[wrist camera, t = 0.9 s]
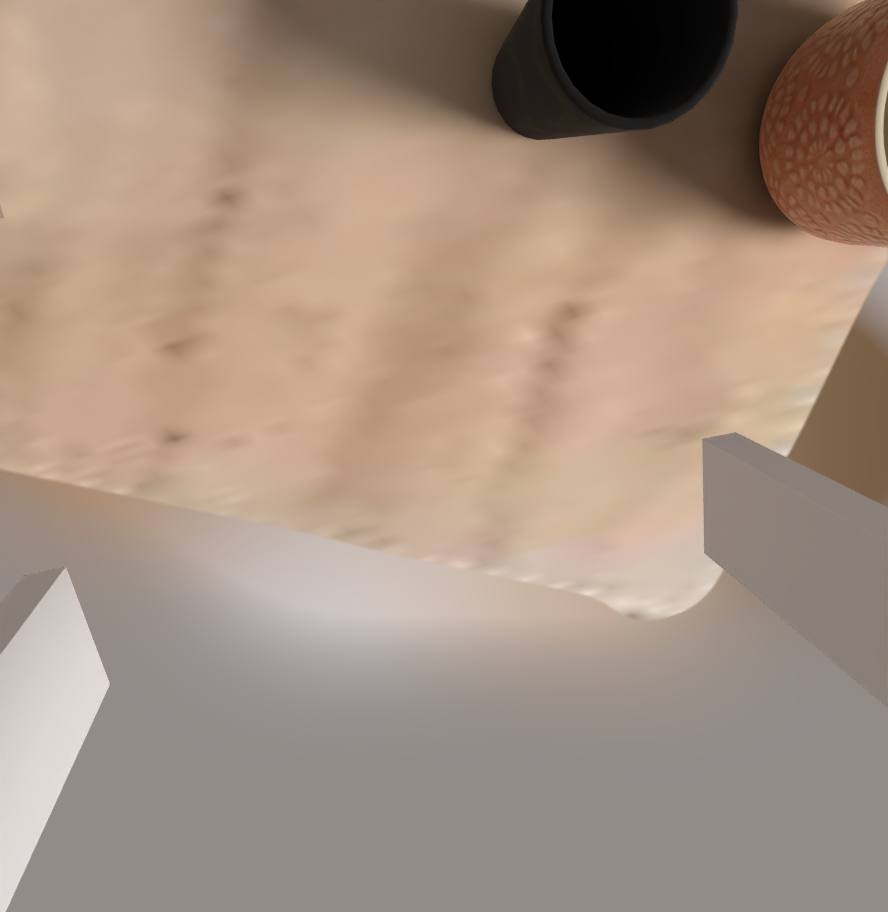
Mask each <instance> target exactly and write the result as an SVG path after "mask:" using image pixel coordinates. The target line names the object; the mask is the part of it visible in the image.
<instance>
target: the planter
mask: <svg viewBox="0 0 888 912" xmlns="http://www.w3.org/2000/svg"><path fill="white" fill-rule="evenodd" d="M759 153H760V163H761V169H762V173H763V177H764V180H765V183H766V186H767V188H768V191H769V193H770V195H771V197H772V199H773V200H774V202H775V204H776V205H777V206H778V208H779V209H780V210H781V211H782V213H783V214H784V215H785V216H786V217H787V218H788V219H789V220H790V221H791V222H793V223H794V224H795V225H797V226H798V227H800V228H801V229H803V230H804V231H806V232H808V233H810V234H812V235H814V236H817V237H819V238H822V239H825V240H829V241H834V242H839V243H844V244H850V245H867V246H881V247H888V0H865V1H863V2H860V3H858V4H856V5H854V6H853V7H851V8H849V9H847V10H846V11H844V12H843V13H841V14H840V15H838V16H836V17H835V18H833V19H832V20H830V21H829V22H827V23H826V24H824V25H823V26H822V27H820V28H819V29H818V30H817V31H816V32H815V33H813V34H812V35H811V36H810V37H809V38H808V39H807V40H806V41H805V42H804V43H803V44H802V45H801V46H800V47H799V48H798V50H797V51H796V52H795V53H794V54H793V56H792V57H791V58H790V59H789V61H788V62H787V64H786V65H785V67H784V68H783V70H782V71H781V73H780V75H779V76H778V78H777V80H776V82H775V84H774V86H773V88H772V90H771V93H770V95H769V98H768V100H767V103H766V106H765V110H764V114H763V118H762V123H761V129H760V140H759Z"/></svg>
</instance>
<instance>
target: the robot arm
mask: <svg viewBox="0 0 888 912" xmlns="http://www.w3.org/2000/svg"><path fill="white" fill-rule="evenodd" d="M702 440H703V502H704V553H705V554H706V555H707V556H709V557H710V558H711V559H712V560H713V561H715V562H716V563H717V564H718V565H719V566H720V567H722V568H723V569H724V570H725V571H726V572H728V573H729V574H730V575H731V576H732V577H733V578H735V579H736V580H737V581H738V582H739V583H740V584H742V585H743V586H744V587H745V588H746V589H748V590H749V591H750V592H751V593H752V594H753V595H755V596H756V597H757V598H758V599H759V600H760V601H762V602H763V603H764V604H765V605H767V606H768V607H769V608H770V609H771V610H772V611H774V612H775V613H776V614H777V615H778V616H780V617H781V618H782V619H783V620H784V621H785V622H786V623H788V624H789V625H790V626H791V627H792V628H794V629H795V630H796V631H797V632H798V633H799V634H801V635H802V636H803V637H804V638H805V639H806V640H808V641H809V642H810V643H811V644H813V645H814V646H815V647H816V648H817V649H818V650H819V651H821V652H822V653H823V654H824V655H825V656H827V657H828V658H829V659H830V660H831V661H832V662H834V663H835V664H836V665H837V666H838V667H839V668H841V669H842V670H843V671H844V672H845V673H847V674H848V675H849V676H850V677H851V678H852V679H854V680H855V681H856V682H857V683H858V684H859V685H861V686H862V687H863V688H864V689H865V690H867V691H868V692H869V693H870V694H871V695H872V696H874V697H875V698H876V699H877V700H878V701H880V702H881V703H882V704H883V705H884V706H886V707H887V708H888V508H887V507H885V506H883V505H881V504H879V503H877V502H875V501H873V500H871V499H869V498H867V497H865V496H863V495H861V494H859V493H857V492H855V491H853V490H851V489H849V488H847V487H845V486H843V485H841V484H839V483H837V482H835V481H833V480H831V479H829V478H827V477H825V476H823V475H821V474H819V473H817V472H815V471H813V470H811V469H808V468H807V467H805V466H803V465H801V464H799V463H797V462H795V461H792V460H790V459H788V458H786V457H784V456H782V455H780V454H778V453H776V452H774V451H772V450H770V449H768V448H766V447H764V446H762V445H760V444H758V443H756V442H754V441H752V440H750V439H748V438H746V437H744V436H742V435H740V434H738V433H736V432H735V433H730V434H725V435H720V436H715V437H710V438H705V439H702ZM109 685H110V684H109V681H108V679H107V676H106V673H105V671H104V668H103V665H102V663H101V660H100V657H99V654H98V652H97V649H96V647H95V644H94V641H93V639H92V636H91V633H90V630H89V628H88V625H87V622H86V620H85V617H84V614H83V612H82V609H81V606H80V604H79V601H78V598H77V596H76V593H75V590H74V588H73V585H72V582H71V580H70V577H69V574H68V572H67V569H66V567H63V568H58V569H53V570H48V571H43V572H38V573H33V574H28V575H24V576H23V577H22V579H21V580H20V581H19V582H18V583H17V584H16V586H15V587H14V588H13V589H12V590H11V591H10V593H9V594H8V595H7V596H6V597H5V599H4V600H3V601H2V602H1V603H0V912H6V910H7V907H8V905H9V903H10V901H11V899H12V897H13V894H14V892H15V890H16V888H17V886H18V883H19V881H20V879H21V877H22V875H23V873H24V870H25V868H26V866H27V864H28V862H29V859H30V857H31V855H32V853H33V851H34V849H35V846H36V844H37V842H38V840H39V838H40V835H41V833H42V831H43V829H44V827H45V824H46V822H47V820H48V818H49V816H50V814H51V811H52V809H53V807H54V805H55V803H56V800H57V798H58V796H59V794H60V792H61V790H62V787H63V785H64V783H65V781H66V779H67V776H68V774H69V772H70V770H71V768H72V766H73V763H74V761H75V759H76V757H77V754H78V752H79V750H80V748H81V746H82V743H83V741H84V739H85V737H86V735H87V733H88V731H89V728H90V726H91V724H92V722H93V720H94V717H95V715H96V713H97V711H98V709H99V706H100V704H101V702H102V700H103V698H104V695H105V693H106V691H107V689H108V687H109Z"/></svg>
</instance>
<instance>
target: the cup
mask: <svg viewBox="0 0 888 912" xmlns="http://www.w3.org/2000/svg"><path fill="white" fill-rule="evenodd" d="M737 16H738V4H737V0H528V2H527V3H526V5H525V7H524V9H523V11H522V12H521V14H520V16H519V18H518V19H517V21H516V23H515V25H514V26H513V28H512V30H511V32H510V33H509V35H508V37H507V39H506V41H505V42H504V44H503V46H502V48H501V49H500V51H499V53H498V55H497V57H496V60H495V64H494V67H493V72H492V91H493V98H494V101H495V104H496V106H497V109H498V112H499V113H500V115H501V116H502V118H503V119H504V121H505V122H506V123H507V124H508V125H509V126H510V127H511V128H512V129H513V130H514V131H516V132H517V133H519V134H521V135H523V136H525V137H528V138H532V139H536V140H545V139H557V138H567V137H577V136H587V135H597V134H606V133H616V132H626V131H636V130H646V129H651V128H654V127H657V126H660V125H664V124H667V123H670V122H672V121H674V120H675V119H677V118H678V117H680V116H681V115H683V114H685V113H686V112H688V111H689V110H691V109H692V108H693V107H694V106H695V105H696V104H697V103H698V102H699V101H700V100H701V99H702V98H703V97H704V96H705V95H706V94H707V93H708V92H709V91H710V89H711V87H712V86H713V84H714V83H715V81H716V79H717V78H718V76H719V75H720V73H721V71H722V70H723V68H724V65H725V63H726V60H727V57H728V55H729V52H730V49H731V47H732V44H733V40H734V34H735V28H736V22H737Z"/></svg>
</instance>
